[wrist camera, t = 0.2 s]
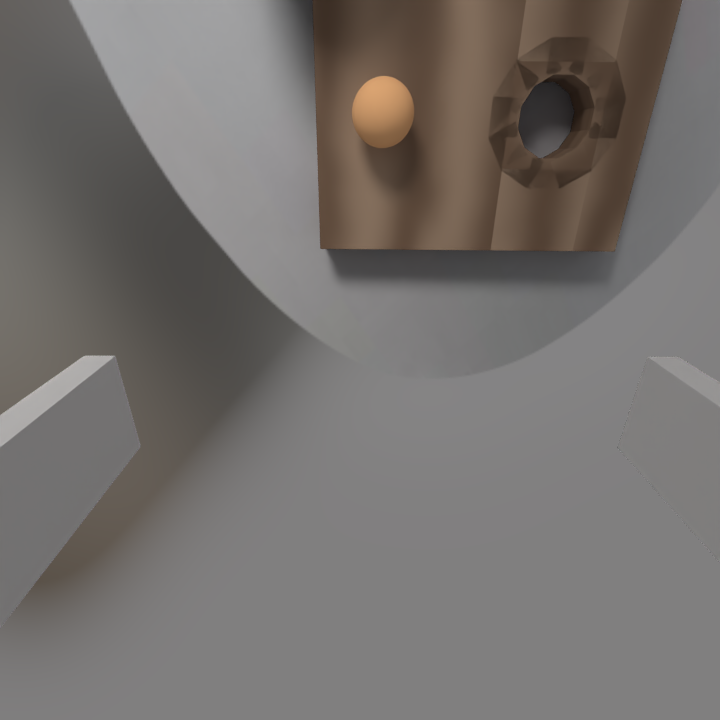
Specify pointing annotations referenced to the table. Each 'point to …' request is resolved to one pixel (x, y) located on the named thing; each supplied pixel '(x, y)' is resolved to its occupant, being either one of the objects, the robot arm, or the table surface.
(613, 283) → the table surface
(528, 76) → the wooden board
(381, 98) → the ball
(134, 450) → the robot arm
